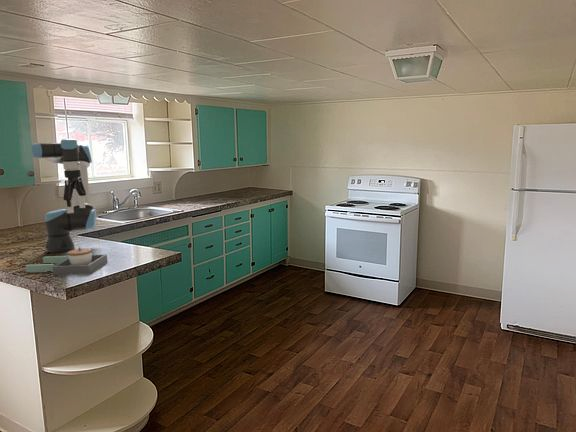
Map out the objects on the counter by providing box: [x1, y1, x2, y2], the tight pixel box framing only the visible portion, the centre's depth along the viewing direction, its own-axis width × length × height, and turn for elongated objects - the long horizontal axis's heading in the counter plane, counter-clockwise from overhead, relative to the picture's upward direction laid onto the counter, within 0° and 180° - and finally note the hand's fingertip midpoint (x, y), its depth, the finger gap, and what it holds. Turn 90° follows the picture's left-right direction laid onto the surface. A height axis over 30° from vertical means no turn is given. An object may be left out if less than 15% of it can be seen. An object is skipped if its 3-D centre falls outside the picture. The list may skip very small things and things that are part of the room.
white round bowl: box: [67, 247, 93, 266], centre depth 218 cm, size 11×11×9 cm
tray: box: [52, 253, 108, 276], centre depth 218 cm, size 17×21×4 cm
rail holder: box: [25, 255, 69, 273], centre depth 222 cm, size 13×17×4 cm
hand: (76, 210), depth 233 cm, fingers open, 13 cm apart
